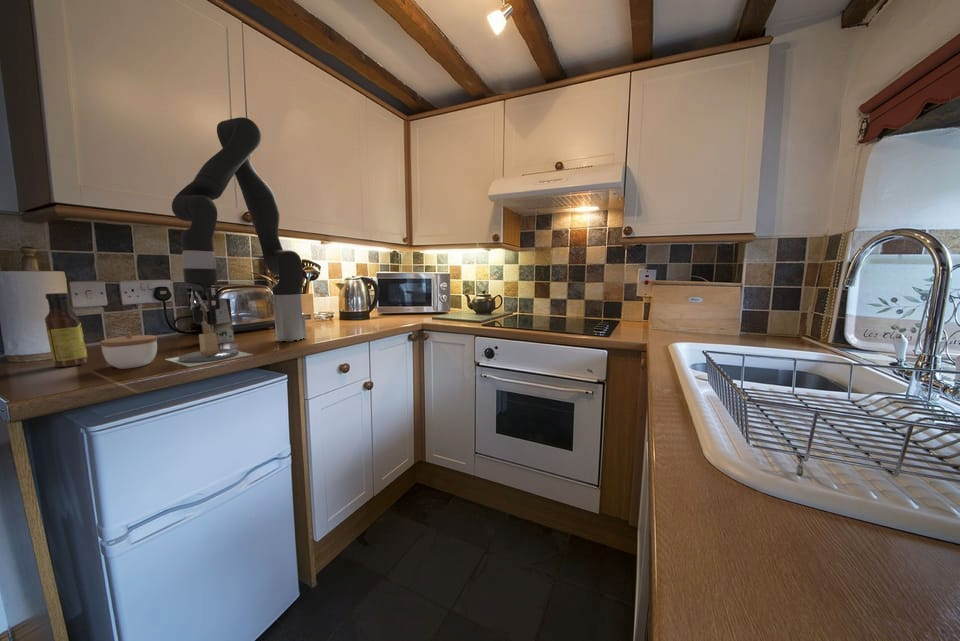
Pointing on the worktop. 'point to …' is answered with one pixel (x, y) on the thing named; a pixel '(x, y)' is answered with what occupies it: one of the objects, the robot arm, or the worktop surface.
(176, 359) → the mat
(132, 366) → the lidded jar
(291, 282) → the robot arm
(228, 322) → the coffee box
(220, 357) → the lid
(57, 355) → the sauce bottle
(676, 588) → the worktop surface
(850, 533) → the worktop surface
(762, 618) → the worktop surface
